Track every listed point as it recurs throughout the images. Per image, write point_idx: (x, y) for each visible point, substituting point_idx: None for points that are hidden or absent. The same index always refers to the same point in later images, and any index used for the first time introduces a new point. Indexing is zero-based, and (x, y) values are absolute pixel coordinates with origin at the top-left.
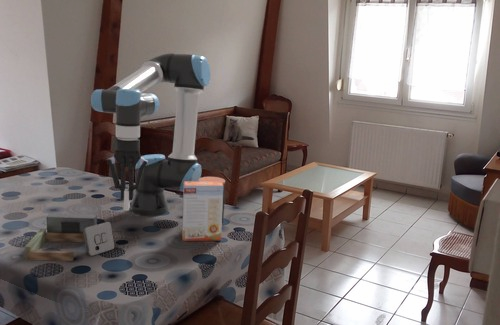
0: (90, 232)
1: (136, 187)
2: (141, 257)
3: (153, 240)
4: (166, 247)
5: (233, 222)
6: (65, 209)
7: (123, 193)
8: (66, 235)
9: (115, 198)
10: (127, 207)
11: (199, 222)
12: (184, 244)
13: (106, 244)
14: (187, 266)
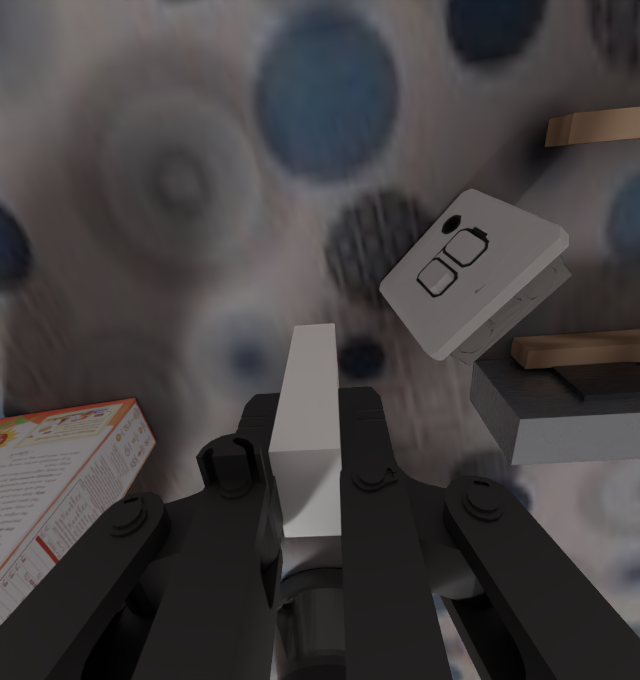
0: (524, 235)
1: (120, 517)
2: (242, 214)
3: (246, 389)
4: (175, 333)
5: None
6: (599, 580)
7: (352, 438)
8: (605, 344)
9: (449, 656)
10: (301, 338)
11: (20, 460)
12: (118, 370)
13: (414, 267)
14: (5, 139)
